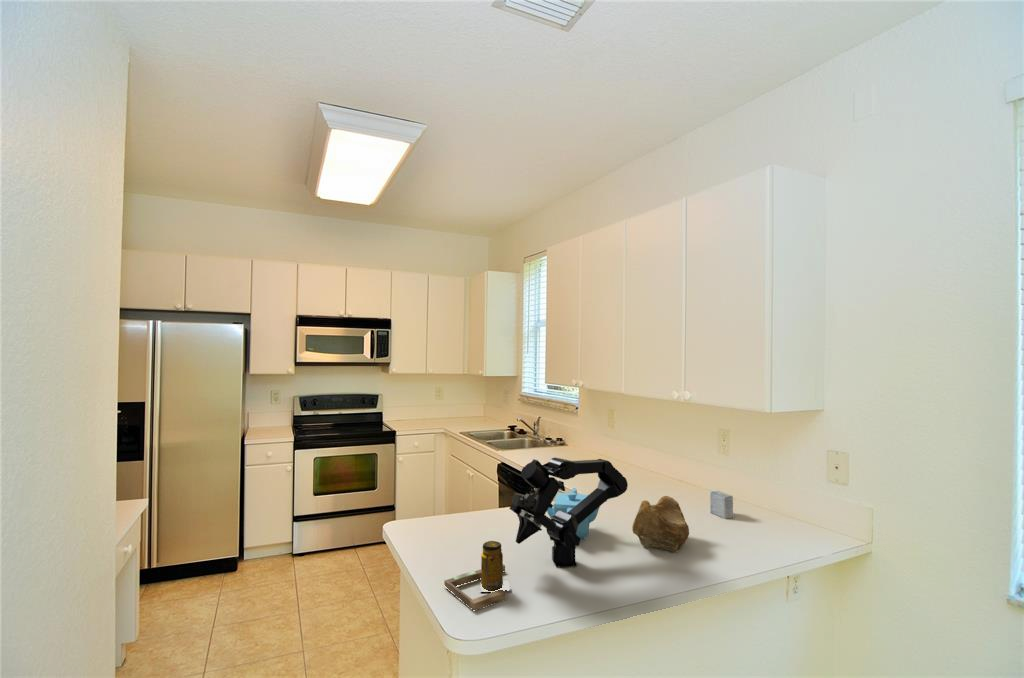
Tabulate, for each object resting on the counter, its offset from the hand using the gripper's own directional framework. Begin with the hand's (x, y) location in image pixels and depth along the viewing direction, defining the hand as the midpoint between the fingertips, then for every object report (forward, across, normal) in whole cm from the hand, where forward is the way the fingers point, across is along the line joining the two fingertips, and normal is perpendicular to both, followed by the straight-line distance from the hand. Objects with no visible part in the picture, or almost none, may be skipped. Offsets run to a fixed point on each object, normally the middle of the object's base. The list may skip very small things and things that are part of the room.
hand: (517, 542), depth 148 cm
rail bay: (+14, +2, -2) cm, 15 cm away
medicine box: (-54, -10, +83) cm, 99 cm away
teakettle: (-14, -22, +32) cm, 41 cm away
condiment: (+13, +2, 0) cm, 13 cm away
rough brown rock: (-27, +2, +50) cm, 57 cm away
